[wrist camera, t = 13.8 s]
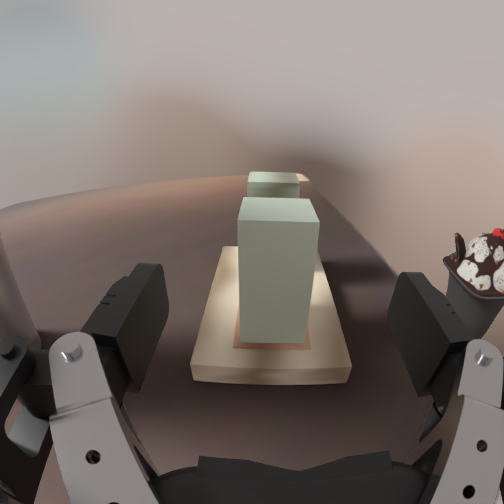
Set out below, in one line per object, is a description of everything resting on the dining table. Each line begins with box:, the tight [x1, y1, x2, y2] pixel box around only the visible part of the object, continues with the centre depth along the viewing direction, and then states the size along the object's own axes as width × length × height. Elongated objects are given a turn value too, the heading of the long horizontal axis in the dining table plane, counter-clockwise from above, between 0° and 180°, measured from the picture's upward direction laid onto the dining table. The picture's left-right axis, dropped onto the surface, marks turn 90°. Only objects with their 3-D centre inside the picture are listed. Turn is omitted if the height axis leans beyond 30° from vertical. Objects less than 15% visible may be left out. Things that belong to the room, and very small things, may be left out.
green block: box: [237, 197, 320, 343], centre depth 22 cm, size 5×5×10 cm
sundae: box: [443, 228, 504, 339], centre depth 17 cm, size 7×7×15 cm
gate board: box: [190, 172, 352, 385], centre depth 27 cm, size 12×20×12 cm, turn 177°
